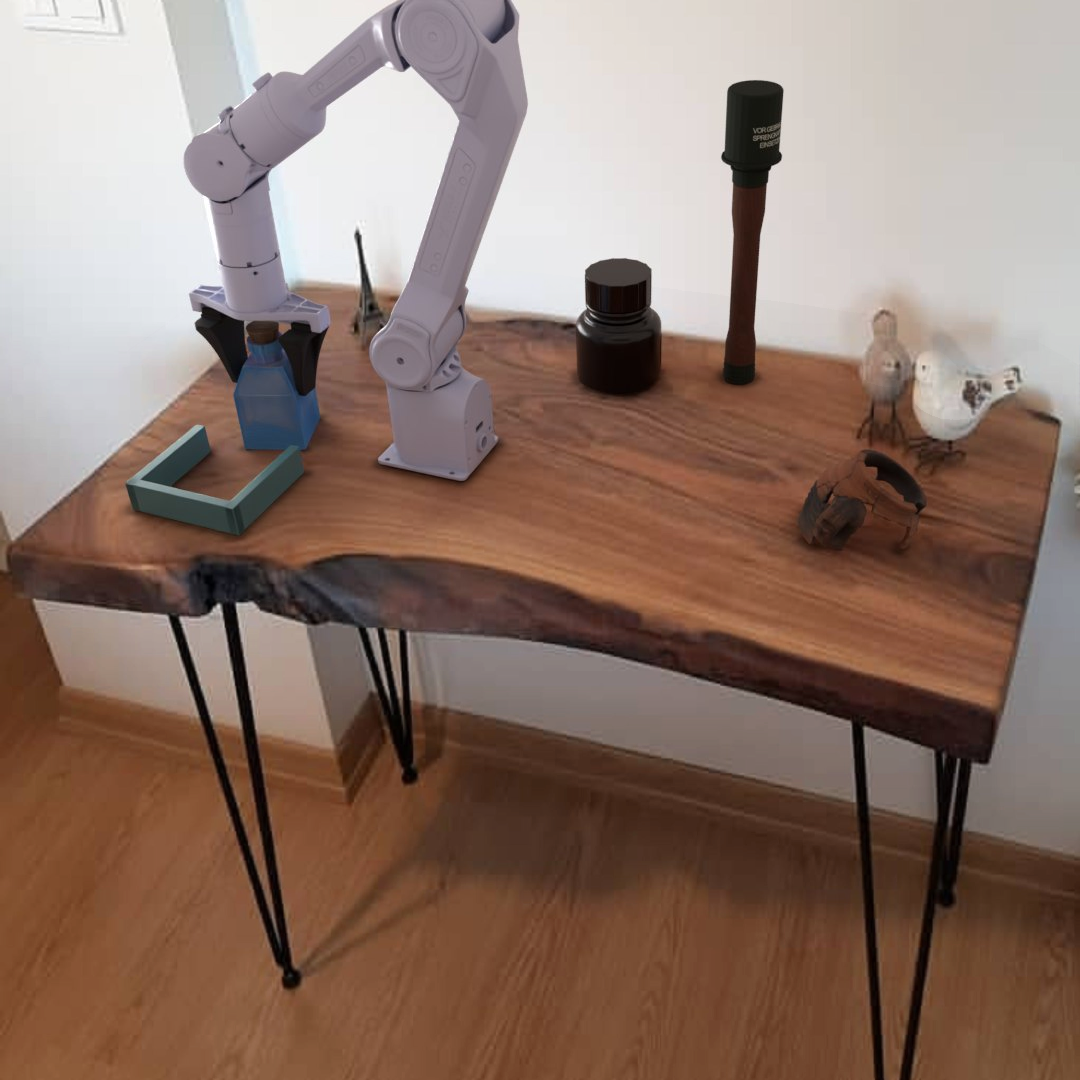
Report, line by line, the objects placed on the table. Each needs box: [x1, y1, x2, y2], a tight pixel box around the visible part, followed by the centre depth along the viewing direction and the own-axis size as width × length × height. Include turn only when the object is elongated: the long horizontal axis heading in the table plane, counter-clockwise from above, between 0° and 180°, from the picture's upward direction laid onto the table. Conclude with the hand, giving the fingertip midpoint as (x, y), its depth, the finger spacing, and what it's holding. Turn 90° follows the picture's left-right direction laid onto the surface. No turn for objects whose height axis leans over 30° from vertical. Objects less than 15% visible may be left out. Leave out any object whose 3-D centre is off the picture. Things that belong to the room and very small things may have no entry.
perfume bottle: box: [232, 321, 321, 451], centre depth 121 cm, size 6×6×12 cm
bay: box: [124, 424, 305, 536], centre depth 116 cm, size 12×11×3 cm
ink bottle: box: [575, 257, 663, 396], centre depth 127 cm, size 10×9×12 cm
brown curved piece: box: [797, 449, 927, 552], centre depth 104 cm, size 12×10×8 cm
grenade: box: [720, 79, 785, 385], centre depth 121 cm, size 6×6×30 cm
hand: (274, 384), depth 121 cm, fingers open, 7 cm apart
